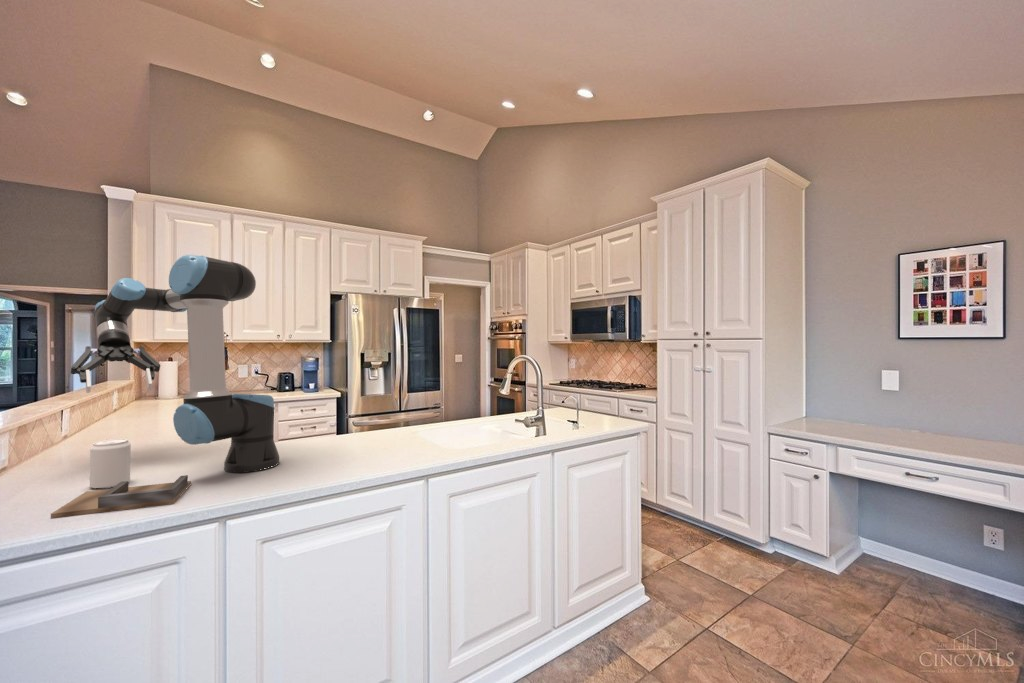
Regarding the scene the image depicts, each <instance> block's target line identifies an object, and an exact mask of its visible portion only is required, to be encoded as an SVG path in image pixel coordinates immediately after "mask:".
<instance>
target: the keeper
mask: <svg viewBox="0 0 1024 683" xmlns="http://www.w3.org/2000/svg"><path fill="white" fill-rule="evenodd" d="M188 477H189V475H185V474H184V475H180V476H179V477H178V478H177V479H176V480H175V481H174V482H166V483H158V484H157V483H155V484H146V485H137V486H129V482H128V481H123V482H120V483H118V484H117V485H116V486H114V487H113V488H106V489H96V490H88V491H85V492H83V493H81V494H80V495H78V496H77V497H75V498H74V499H72V500H70V501H68V502H67V503H66V504H64V505H63V506H61V507H60V508H58V509H56V510H54V511H52V512H51V513H50V519H56V518H65V517H75V516H83V515H89V514H91V515H92V514H99V513H106V512H107V513H109V512H114V511H124V510H131V509H132V510H133V509H141V508H149V507H150V508H151V507H157V506H158V507H159V506H165V505H174V504H175V503H176V501H177V500H179V498H181V496H182V495H183V494H184V493H185V492H184V491H186V490H187V489H188V488H189V487H190V486H191V485H192V480H188ZM190 484H191V485H190ZM189 485H190V486H189ZM188 486H189V487H188ZM187 487H188V488H187ZM186 488H187V489H186ZM183 492H184V493H183ZM182 493H183V494H182ZM181 494H182V495H181ZM180 495H181V496H180ZM74 515H75V516H74Z"/></svg>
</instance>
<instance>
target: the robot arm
mask: <svg viewBox="0 0 1024 683" xmlns="http://www.w3.org/2000/svg"><path fill="white" fill-rule="evenodd" d="M256 284H257V281H256V278H255V276H254V273H253V272H252V271H251V270H250V269H249V268H248V267H247V266H245V265H243V264H241V263H238V262H234V261H227V260H223V259H218V258H213V257H209V256H204V255H195V254H185V255H182V256H180V257H179V258H178V259H176V261H175V262H174V263H173V265H172V266H171V268H170V271H169V274H168V286H169V289H162V288H150V287H146V286H145V284H144V283H142V282H141V281H139V280H135V279H133V278H131V277H123V278H120V279H118V280H117V281H116V282H115V284H114V285H113V286H112V287H111V289H110V291H109V293H108V295H107V296H106V299H103V300H101V301H98V302H97V303H96V304H95V306H94V311H93V313H94V315H93V316H94V318H95V325H96V326H95V327H96V334H97V336H96V337H97V345H98V347H97V348H92V347H91V346H89V345H87V346H85V349H84V352H83V353H82V354H81V355H79V357H78V359H76V361H75V362H74V363H73V364H72V365H71V366H70V374H71V375H75V374H76V375H79V382H80V383H82V384H84V383H85V389H86V393H87V394H90V393H91V389H92V383H91V371H93V370H94V369H96V368H97V367H99V366H101V364H105V363H106V362H107V361H108V362H124V361H125V362H127V363H129V364H132V365H134V366H135V367H137V368H139V369H141V370H143V371H144V372H145V373H144V376H145V381H146V382H145V383H146V387H147V390H151V389H152V387H153V386H152V385H153V381H154V379H155V377H156V375H155V374H156V373H157V372H158V373H159V371H161V370H160V369H161V364H160V363H159V362H158V361H157V360H156V359H155V358H153V356H152V355H150V354H149V353H148V351H146V349H145V347H144V346H139V347H138V348H133V347H132V346H131V339H130V332H129V327H128V319H129V318H130V316H131V314H132V313H133V312H134V310H142V311H143V310H145V311H146V310H147V311H159V312H170V313H184V312H186V315H187V316H186V317H187V318H186V319H187V321H186V322H187V348H188V373H189V374H188V375H189V379H188V381H189V392H188V393H187V394H185V396H183V404H180V405H179V406H177V408H175V411H174V413H173V417H172V419H173V421H172V422H173V427H174V430H175V432H176V435H177V436H178V437H179V438H180V439H181V441H183V442H184V443H186V444H188V445H202V444H211V443H212V442H218V441H223V440H228V439H231V440H230V441H231V443H230V447H229V448H228V452H227V453H226V454H227V455H226V456H225V460H224V462H223V470H224V471H225V472H227V471H228V473H234V472H242V473H248V472H247V471H253V472H256V471H255V470H260V469H264V468H268V467H271V466H274V465H276V464H277V463H279V464H280V455H279V452H278V449H277V445H276V442H275V440H274V438H275V437H274V430H275V429H274V428H275V425H274V424H275V421H274V420H275V410H276V407H275V406H274V405H275V401H274V397H273V396H271V395H269V394H254V393H253V394H251V393H232V392H231V391H229V390H228V389H227V381H226V379H227V378H226V356H225V331H224V330H225V329H224V328H225V326H224V308H225V307H226V306H227V305H229V302H235V301H240V300H244V299H245V300H246V299H247V298H249V297H250V296H251V295H252V294H253V293H254V291H255V289H256V287H257V286H256ZM95 354H97V355H98V356H96V357H94V358H93V359H92V360H90V361H88V360H89V359H91V358H90V357H93V355H95ZM136 355H137V356H136ZM138 356H139V357H138ZM87 361H88V363H87ZM155 372H156V373H155ZM274 467H275V466H274ZM260 471H261V470H260Z"/></svg>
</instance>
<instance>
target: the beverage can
mask: <svg viewBox="0 0 1024 683" xmlns="http://www.w3.org/2000/svg"><path fill="white" fill-rule="evenodd" d="M89 452H90V453H89V456H90V457H89V487H90V488H92V489H96V488H106V489H111V488H110V487H114V486H116V485H117V484H118V483H120V482H123V481H128V483H129V482H130V481H131V442H130V441H129V439H127V438H112V439H105V440H104V439H103V440H100V441H99V440H98V441H95V442H93V443H92V446H91V447H90V451H89Z"/></svg>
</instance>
